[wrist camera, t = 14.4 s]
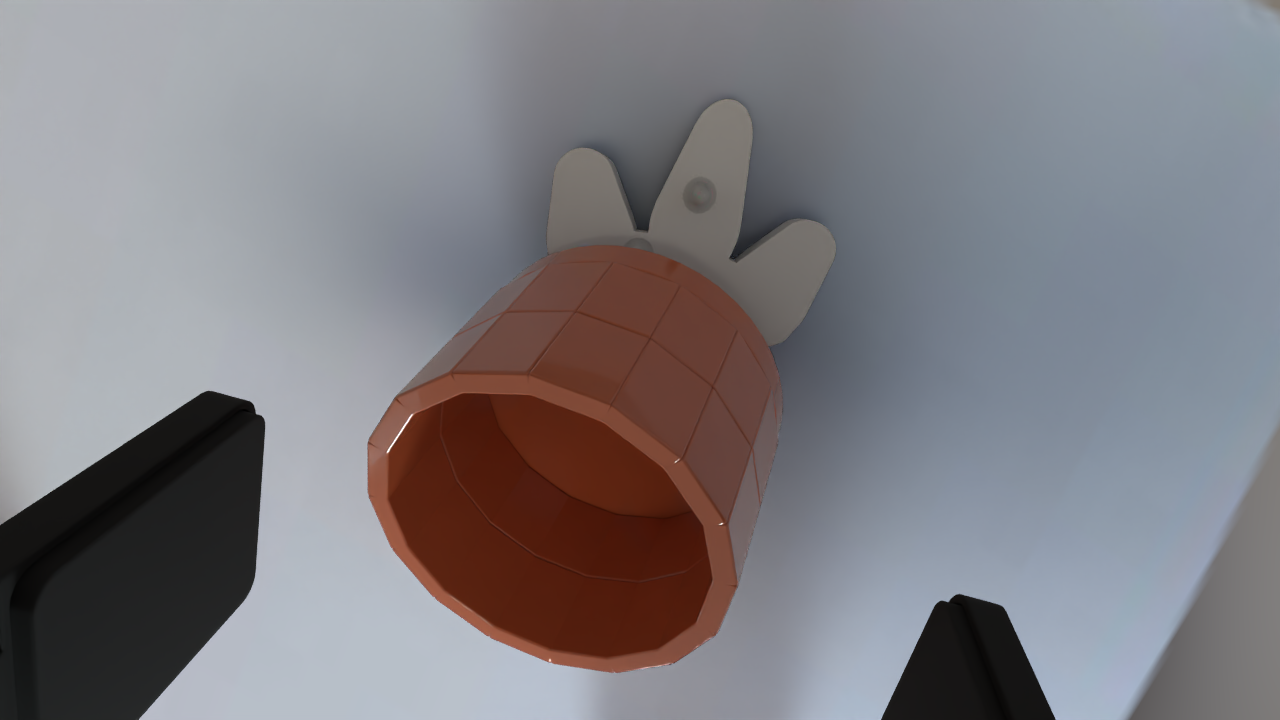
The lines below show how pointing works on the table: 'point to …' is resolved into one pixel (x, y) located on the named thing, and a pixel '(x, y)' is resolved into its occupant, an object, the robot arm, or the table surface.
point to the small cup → (585, 460)
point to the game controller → (699, 222)
